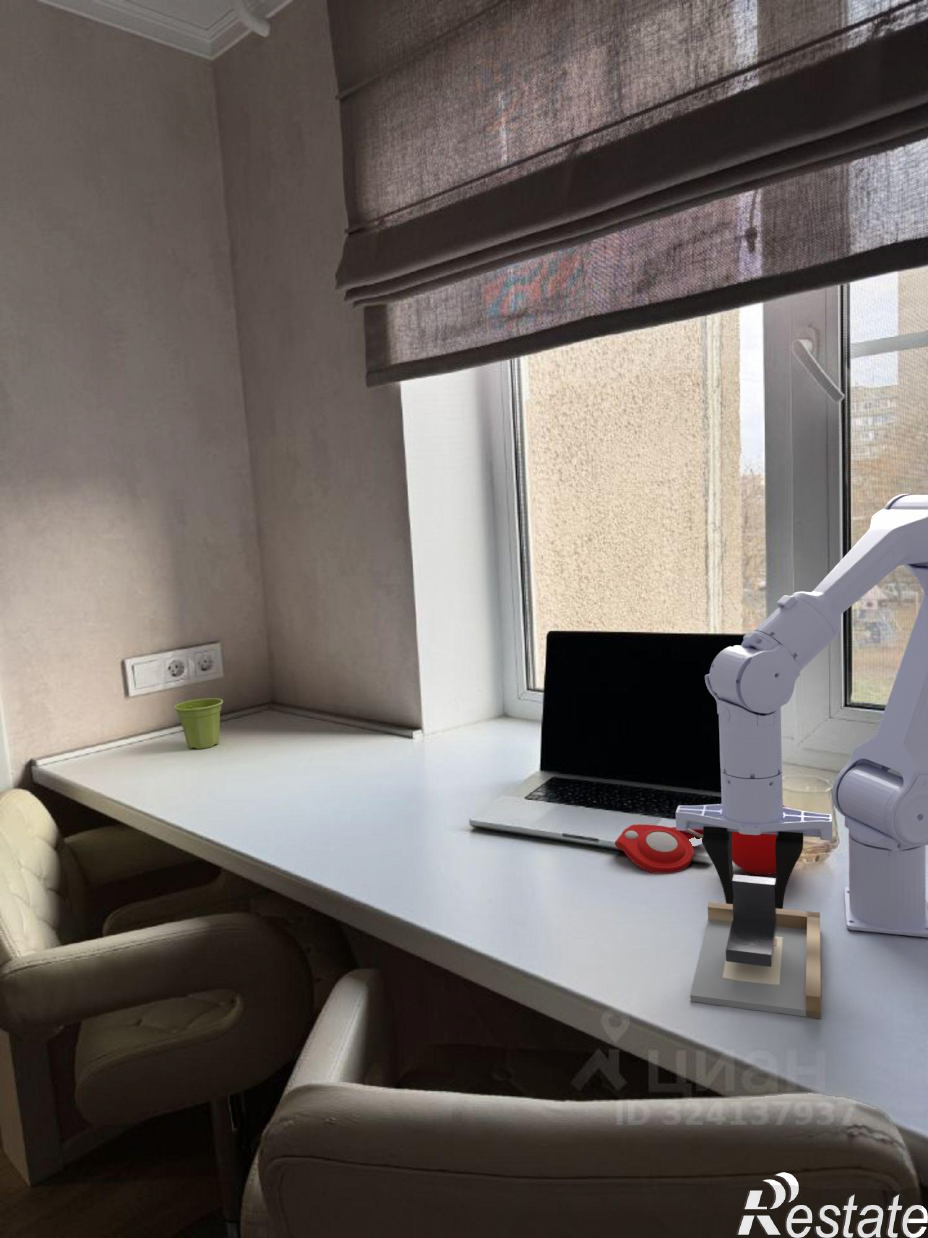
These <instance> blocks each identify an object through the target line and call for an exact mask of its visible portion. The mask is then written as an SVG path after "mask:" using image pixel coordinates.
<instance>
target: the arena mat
mask: <svg viewBox="0 0 928 1238" xmlns="http://www.w3.org/2000/svg"><path fill="white" fill-rule="evenodd" d="M731 924H732V922H727V921H717V920H708V919H707V923H706V927H705V931H704V935H703V939H702V945H701V949H700V953H699V956H698V961H697V966H696V969H695V973H694V978H693V982H692V985H691V986H692V987H691V991H690V995H689V997H690V1002H695V1003H701V1004H709V1005H716V1006H724V1007H730V1008H737V1009H738V1008H739V1009H747V1010H753V1011H754V1010H755V1011H761V1012H768V1013H774V1014H775V1013H778V1014H783V1015H789V1016H796V1017H797V1016H798V1017H805V1018H806V1017H807V1018H812V1017H813V1016H812V1014H811V1013H810V1016H809V1013H807V1012H809V1011H806V953H807V930H806V929H796V928H786V927H777V928H776V936H775V943H774V951H773V958H772V966H771V967H767V966H759V965H751V964H743V963H736V962H728V961H726V946H727V941H728V937H729V933H730V928H731ZM811 1012H812V1011H811ZM813 1012H814V1011H813ZM806 1013H807V1014H808V1015H806ZM817 1013H818V1012H817ZM820 1013H821V1014H822V1011H821V1012H820ZM820 1013H819V1014H820ZM813 1015H814V1014H813ZM817 1015H818V1014H817ZM817 1015H816V1018H814V1017H815V1016H814V1017H813V1019H822V1015H821V1016H820V1015H818V1016H819V1017H820V1018H818V1017H817ZM811 1016H812V1017H811Z"/></svg>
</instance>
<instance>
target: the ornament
mask: <svg viewBox="0 0 928 1238" xmlns="http://www.w3.org/2000/svg"><path fill="white" fill-rule="evenodd" d="M783 807H785V808H787V806H785V805H784V804H783ZM776 835H777V834H763V833H761V834H760V835H747V834H740V833H739V832H733V831H732V863H733V864H734V865H736V866H737V867H739V868H740V869H742V870H744V871H745V872H748V873H751V874H754V875H759V876H761V875H762V876H764V875H765V876H766V875H772V874H776V855H775V843H776Z"/></svg>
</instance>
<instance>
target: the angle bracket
mask: <svg viewBox="0 0 928 1238" xmlns="http://www.w3.org/2000/svg"><path fill="white" fill-rule="evenodd" d="M732 893H733V920H732V924H731V928H730V933H729V937H728V941H727V946H726V961H728V962H736V963H743V964H751V965H759V966H767V967H771V966H772V958H773V951H774V943H775V936H776V928H777V912H776V908H775V893H776V877H775V878H774V877H766V876H765V877H764V876H753V875H752V876H751V875H744V874H743V875H742V874H733V879H732Z"/></svg>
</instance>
